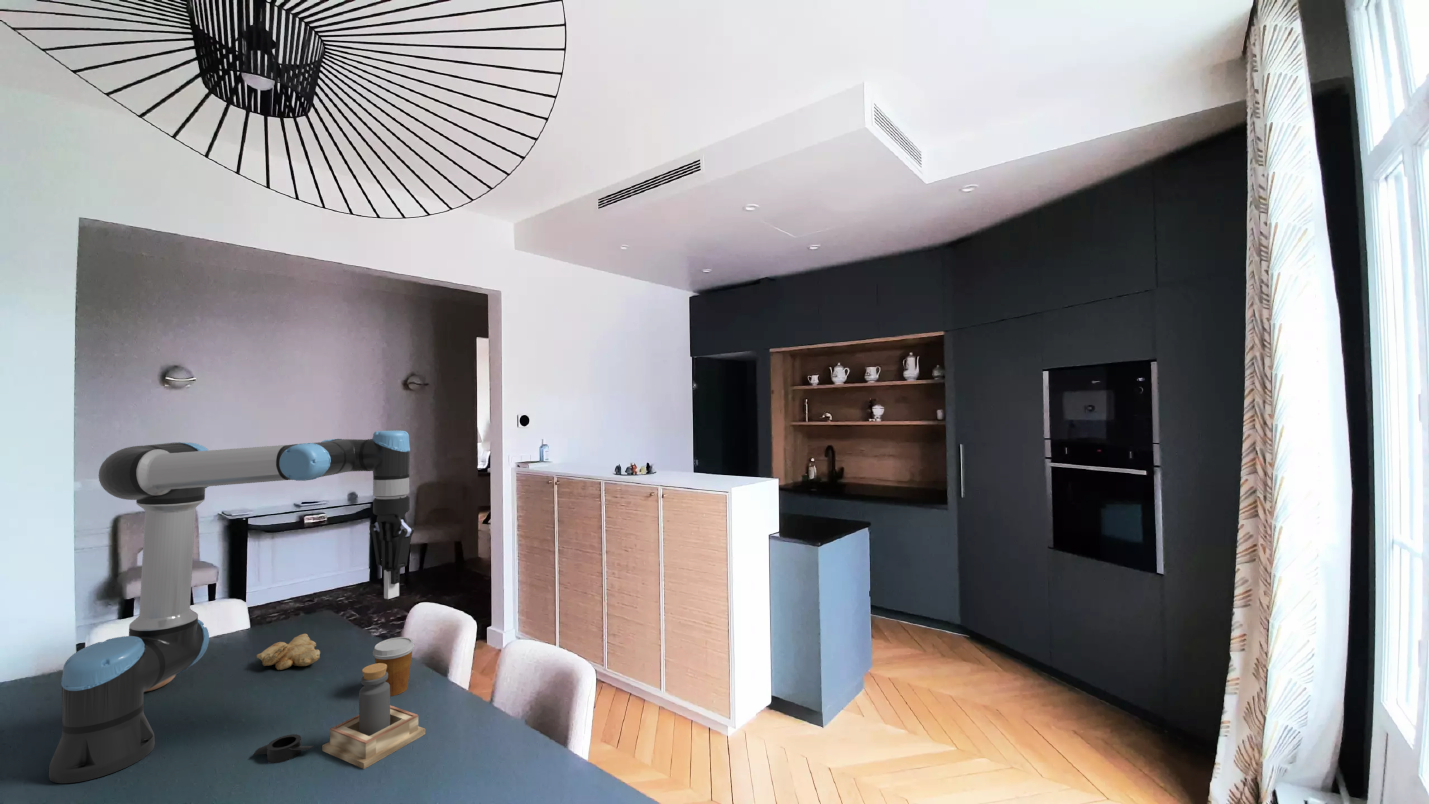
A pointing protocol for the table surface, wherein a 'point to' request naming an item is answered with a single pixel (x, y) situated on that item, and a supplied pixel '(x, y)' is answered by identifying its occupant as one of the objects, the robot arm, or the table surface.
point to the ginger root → (290, 653)
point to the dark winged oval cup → (282, 748)
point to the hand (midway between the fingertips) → (391, 596)
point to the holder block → (373, 738)
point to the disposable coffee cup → (395, 661)
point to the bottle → (374, 699)
